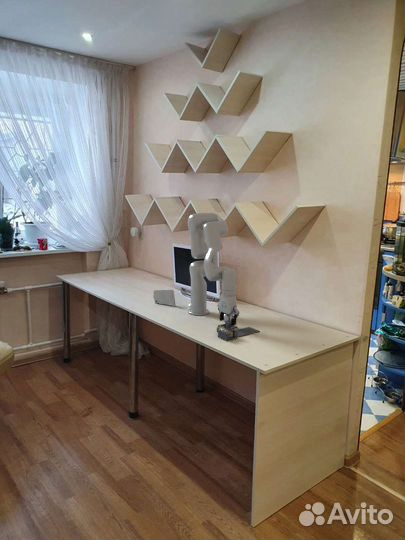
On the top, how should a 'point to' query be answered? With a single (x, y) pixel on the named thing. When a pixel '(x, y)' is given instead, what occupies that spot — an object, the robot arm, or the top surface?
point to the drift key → (225, 330)
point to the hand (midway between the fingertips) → (227, 322)
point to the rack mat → (246, 331)
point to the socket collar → (230, 327)
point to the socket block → (227, 334)
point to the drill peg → (227, 320)
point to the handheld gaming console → (164, 296)
